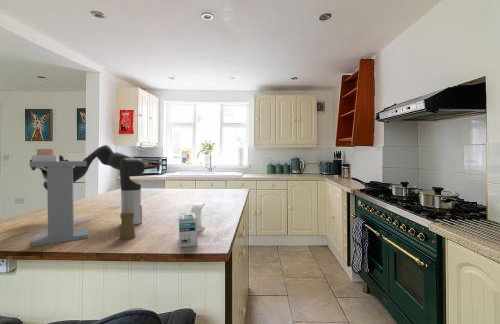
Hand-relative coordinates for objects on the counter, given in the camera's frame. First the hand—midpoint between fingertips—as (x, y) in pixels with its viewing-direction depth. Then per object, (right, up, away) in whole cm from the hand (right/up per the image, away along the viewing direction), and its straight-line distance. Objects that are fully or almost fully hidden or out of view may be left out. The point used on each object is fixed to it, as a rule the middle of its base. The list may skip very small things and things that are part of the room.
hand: (48, 156), depth 116 cm
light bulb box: (+67, -34, -15) cm, 77 cm away
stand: (+13, -34, -9) cm, 37 cm away
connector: (+5, -2, -6) cm, 8 cm away
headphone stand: (+67, -34, +3) cm, 75 cm away
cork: (+40, -34, -9) cm, 53 cm away
